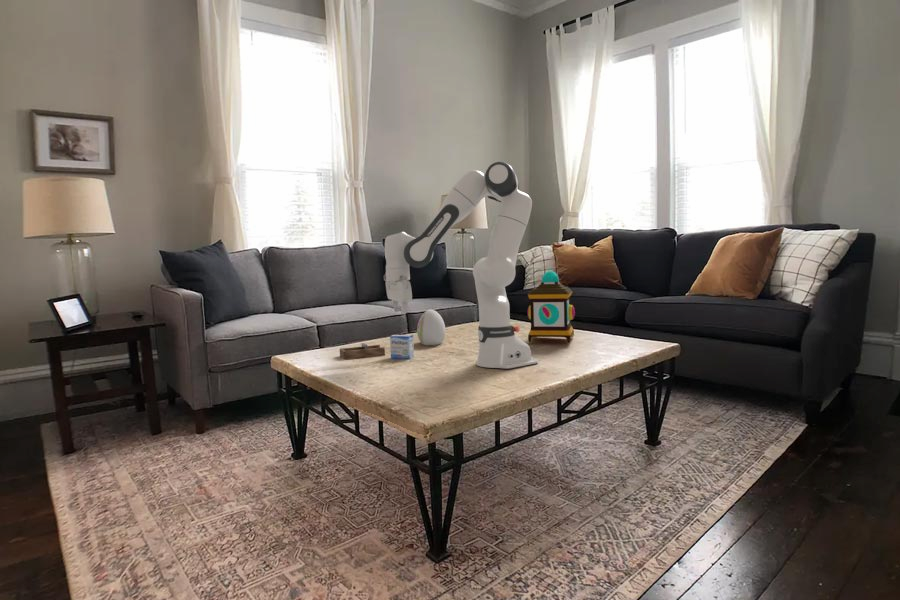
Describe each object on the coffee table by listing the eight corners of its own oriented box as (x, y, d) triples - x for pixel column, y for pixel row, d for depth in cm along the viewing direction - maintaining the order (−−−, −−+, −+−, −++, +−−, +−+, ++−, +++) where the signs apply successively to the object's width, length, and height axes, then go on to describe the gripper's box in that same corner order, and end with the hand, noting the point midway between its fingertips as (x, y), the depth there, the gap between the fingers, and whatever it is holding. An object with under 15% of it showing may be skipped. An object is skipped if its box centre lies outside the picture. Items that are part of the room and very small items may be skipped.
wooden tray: (379, 352, 221) (379, 344, 220) (384, 355, 213) (384, 347, 213) (339, 356, 214) (339, 348, 214) (344, 359, 207) (343, 351, 207)
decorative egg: (424, 341, 244) (422, 308, 242) (450, 342, 239) (448, 308, 238) (413, 346, 232) (411, 311, 231) (440, 346, 228) (438, 311, 227)
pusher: (364, 352, 217) (363, 343, 217) (367, 354, 212) (367, 344, 212) (361, 352, 216) (361, 343, 216) (365, 354, 211) (364, 345, 211)
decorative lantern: (577, 337, 241) (576, 268, 238) (573, 344, 222) (572, 270, 219) (531, 336, 247) (530, 270, 244) (524, 343, 228) (522, 272, 226)
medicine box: (390, 358, 205) (389, 336, 205) (395, 356, 210) (394, 334, 209) (410, 359, 203) (409, 336, 202) (414, 357, 207) (413, 334, 207)
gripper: (415, 275, 195) (417, 314, 197) (398, 274, 214) (400, 309, 215) (398, 276, 193) (400, 315, 194) (382, 275, 212) (384, 311, 213)
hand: (400, 312), depth 205 cm, fingers open, 8 cm apart
